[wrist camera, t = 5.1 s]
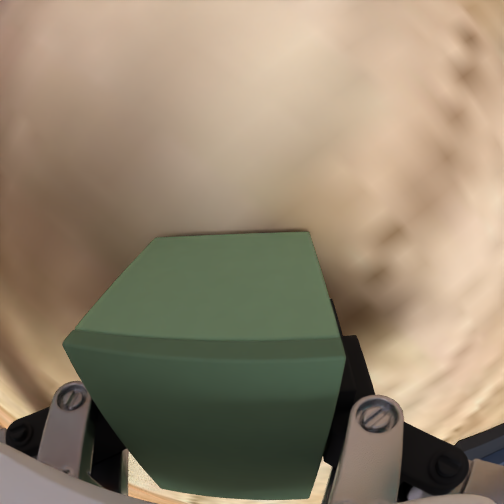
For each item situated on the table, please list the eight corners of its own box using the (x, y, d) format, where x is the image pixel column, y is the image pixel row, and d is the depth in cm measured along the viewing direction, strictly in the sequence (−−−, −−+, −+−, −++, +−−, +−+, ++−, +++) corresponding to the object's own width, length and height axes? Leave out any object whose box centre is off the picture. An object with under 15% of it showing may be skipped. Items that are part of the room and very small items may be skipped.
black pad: (458, 440, 14) (468, 468, 12) (545, 401, 13) (556, 420, 11) (392, 509, 21) (394, 526, 19) (469, 484, 20) (474, 499, 18)
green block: (154, 237, 9) (60, 343, 4) (309, 230, 9) (347, 357, 4) (190, 383, 12) (160, 488, 7) (302, 384, 12) (309, 498, 7)
